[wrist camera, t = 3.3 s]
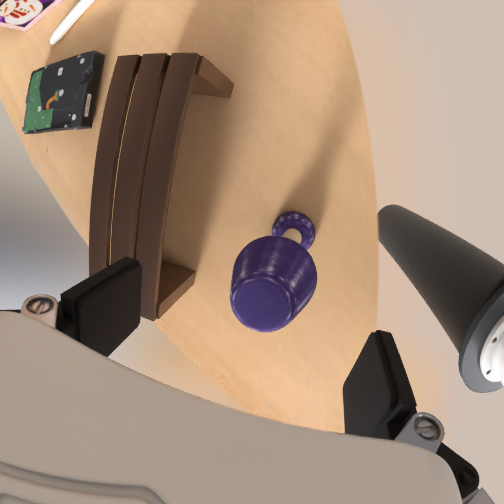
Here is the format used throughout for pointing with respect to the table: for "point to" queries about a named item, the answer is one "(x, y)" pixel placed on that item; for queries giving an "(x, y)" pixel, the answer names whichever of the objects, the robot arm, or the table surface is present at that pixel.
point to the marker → (70, 20)
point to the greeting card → (24, 12)
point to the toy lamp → (275, 275)
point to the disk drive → (64, 94)
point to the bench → (145, 167)
